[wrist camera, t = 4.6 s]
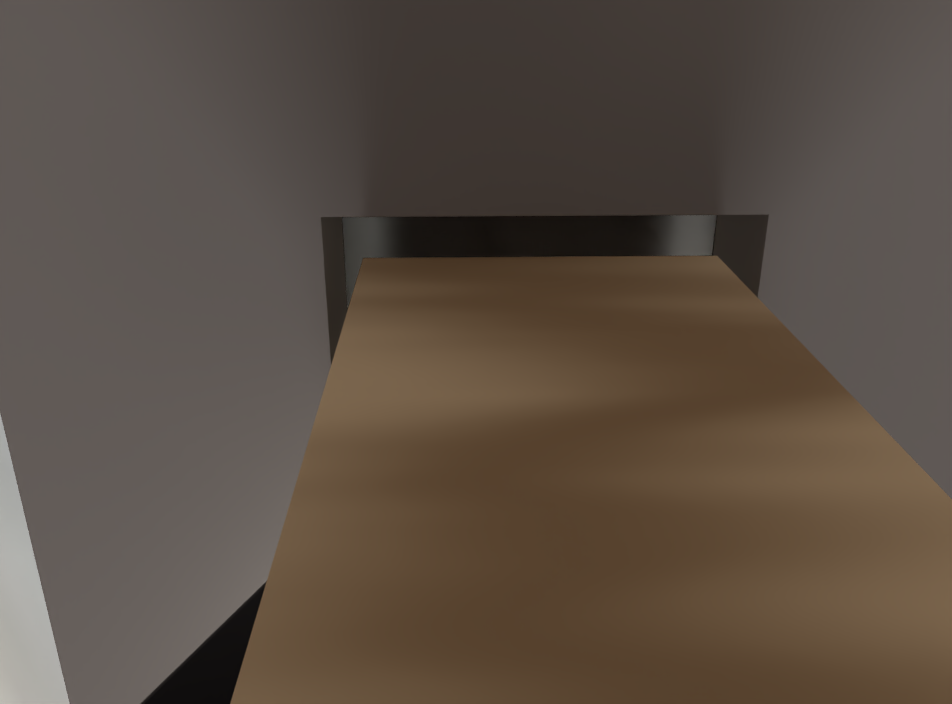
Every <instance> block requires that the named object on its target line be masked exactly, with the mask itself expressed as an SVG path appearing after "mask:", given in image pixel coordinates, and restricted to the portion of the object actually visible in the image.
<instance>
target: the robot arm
mask: <svg viewBox="0 0 952 704" xmlns="http://www.w3.org/2000/svg"><path fill="white" fill-rule="evenodd" d="M266 582H267V581H266ZM266 582H265V583H264V584H263V585H262V586H261V587H260V588H259V589H258V590H257V591H256V592H255V593H254V594H253V595H252V596H251V597H250V598H248V599H247V600H246V601H245V602H244V603H243V604H242V605H241V606H240V607H239V608H238V609H237V610H236V611H235V612H234V613H233V614H232V615H231V616H230V617H229V618H228V619H227V620H226V621H225V622H224V623H223V624H222V625H221V626H220V627H219V628H218V629H217V630H215V631H214V632H213V633H212V634H211V635H210V636H209V637H208V638H207V639H206V640H205V641H204V642H203V643H202V644H201V645H200V646H199V647H198V648H197V649H196V650H195V651H194V652H193V653H192V654H191V655H190V656H189V657H188V658H187V659H186V660H185V661H184V662H182V663H181V664H180V665H179V666H178V667H177V668H176V669H175V670H174V671H173V672H172V673H171V674H170V675H169V676H168V677H167V678H166V679H165V680H164V681H163V682H162V683H161V684H160V685H159V686H158V687H157V688H156V689H155V690H154V691H153V692H152V693H151V694H149V695H148V696H147V697H146V698H145V699H144V700H143V701H142V702H141V703H140V704H230V703H231V700H232V696H233V693H234V689H235V686H236V683H237V679H238V676H239V673H240V669H241V666H242V663H243V659H244V656H245V653H246V649H247V646H248V643H249V639H250V636H251V632H252V629H253V626H254V622H255V619H256V616H257V612H258V609H259V606H260V602H261V599H262V596H263V592H264V589H265V586H266Z"/></svg>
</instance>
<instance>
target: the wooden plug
mask: <svg viewBox="0 0 952 704" xmlns="http://www.w3.org/2000/svg"><path fill="white" fill-rule="evenodd" d="M230 704H952V499H951V498H950V497H949V496H948V495H947V494H946V493H945V492H944V491H943V490H942V489H941V488H940V487H939V486H938V484H937V483H936V482H935V481H934V480H933V479H932V478H931V477H930V476H929V475H928V474H927V473H926V472H925V471H924V470H923V469H922V468H921V467H920V466H919V465H918V464H917V463H916V462H915V461H914V460H913V459H912V457H911V456H910V455H909V454H908V453H907V452H906V451H905V450H904V449H903V448H902V447H901V446H900V445H899V444H898V443H897V442H896V441H895V440H894V439H893V438H892V437H891V436H890V435H889V434H888V433H887V432H886V430H885V429H884V428H883V427H882V426H881V425H880V424H879V423H878V422H877V421H876V420H875V419H874V418H873V417H872V416H871V415H870V414H869V413H868V412H867V411H866V410H865V409H864V408H863V407H862V406H861V405H860V403H859V402H858V401H857V400H856V399H855V398H854V397H853V396H852V395H851V394H850V393H849V392H848V391H847V390H846V389H845V388H844V387H843V386H842V385H841V384H840V383H839V382H838V381H837V380H836V379H835V378H834V376H833V375H832V374H831V373H830V372H829V371H828V370H827V369H826V368H825V367H824V366H823V365H822V364H821V363H820V362H819V361H818V360H817V359H816V358H815V357H814V356H813V355H812V354H811V353H810V352H809V351H808V349H807V348H806V347H805V346H804V345H803V344H802V343H801V342H800V341H799V340H798V339H797V338H796V337H795V336H794V335H793V334H792V333H791V332H790V331H789V330H788V329H787V328H786V327H785V326H784V325H783V324H782V322H781V321H780V320H779V319H778V318H777V317H776V316H775V315H774V314H773V313H772V312H771V311H770V310H769V309H768V308H767V307H766V306H765V305H764V304H763V303H762V302H761V301H760V300H759V299H758V298H757V297H756V295H755V294H754V293H753V292H752V291H751V290H750V289H749V288H748V287H747V286H746V285H745V284H744V283H743V282H742V281H741V280H740V279H739V278H738V277H737V276H736V275H735V274H734V273H733V272H732V271H731V270H730V268H729V267H728V266H727V265H726V264H725V263H724V262H723V261H722V260H721V259H720V258H719V257H718V256H581V257H424V258H363V260H362V264H361V267H360V270H359V274H358V277H357V280H356V284H355V287H354V291H353V294H352V297H351V301H350V304H349V307H348V311H347V314H346V317H345V321H344V324H343V327H342V331H341V334H340V337H339V341H338V344H337V347H336V351H335V354H334V358H333V361H332V364H331V368H330V371H329V374H328V378H327V381H326V384H325V388H324V391H323V394H322V398H321V401H320V404H319V408H318V411H317V415H316V418H315V421H314V425H313V428H312V431H311V435H310V438H309V441H308V445H307V448H306V451H305V455H304V458H303V461H302V465H301V468H300V472H299V475H298V478H297V482H296V485H295V488H294V492H293V495H292V498H291V502H290V505H289V508H288V512H287V515H286V518H285V522H284V525H283V529H282V532H281V535H280V539H279V542H278V545H277V549H276V552H275V555H274V559H273V562H272V565H271V569H270V572H269V575H268V579H267V582H266V586H265V589H264V592H263V596H262V599H261V602H260V606H259V609H258V612H257V616H256V619H255V622H254V626H253V629H252V632H251V636H250V639H249V643H248V646H247V649H246V653H245V656H244V659H243V663H242V666H241V669H240V673H239V676H238V679H237V683H236V686H235V689H234V693H233V696H232V700H231V703H230Z"/></svg>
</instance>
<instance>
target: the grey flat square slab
mask: <svg viewBox="0 0 952 704" xmlns="http://www.w3.org/2000/svg"><path fill="white" fill-rule="evenodd" d="M597 215H717V224H716V232H715V241H714V250H713V256H718V257H719V258H720V259H721V260H722V261H723V262H724V263H725V264H726V265H727V266H728V267H729V268H730V270H731V271H732V272H733V273H734V274H735V275H736V276H737V277H738V278H739V279H740V280H741V281H742V282H743V283H744V284H745V285H746V286H747V287H748V288H749V289H750V290H751V291H752V292H753V293H754V294H755V295H756V297H757V298H758V299H759V300H760V301H761V302H762V303H763V304H764V305H765V306H766V307H767V308H768V309H769V310H770V311H771V312H772V313H773V314H774V315H775V316H776V317H777V318H778V319H779V320H780V321H781V322H782V324H783V325H784V326H785V327H786V328H787V329H788V330H789V331H790V332H791V333H792V334H793V335H794V336H795V337H796V338H797V339H798V340H799V341H800V342H801V343H802V344H803V345H804V346H805V347H806V348H807V349H808V351H809V352H810V353H811V354H812V355H813V356H814V357H815V358H816V359H817V360H818V361H819V362H820V363H821V364H822V365H823V366H824V367H825V368H826V369H827V370H828V371H829V372H830V373H831V374H832V375H833V376H834V378H835V379H836V380H837V381H838V382H839V383H840V384H841V385H842V386H843V387H844V388H845V389H846V390H847V391H848V392H849V393H850V394H851V395H852V396H853V397H854V398H855V399H856V400H857V401H858V402H859V403H860V405H861V406H862V407H863V408H864V409H865V410H866V411H867V412H868V413H869V414H870V415H871V416H872V417H873V418H874V419H875V420H876V421H877V422H878V423H879V424H880V425H881V426H882V427H883V428H884V429H885V430H886V432H887V433H888V434H889V435H890V436H891V437H892V438H893V439H894V440H895V441H896V442H897V443H898V444H899V445H900V446H901V447H902V448H903V449H904V450H905V451H906V452H907V453H908V454H909V455H910V456H911V457H912V459H913V460H914V461H915V462H916V463H917V464H918V465H919V466H920V467H921V468H922V469H923V470H924V471H925V472H926V473H927V474H928V475H929V476H930V477H931V478H932V479H933V480H934V481H935V482H936V483H937V484H938V486H939V487H940V488H941V489H942V490H943V491H944V492H945V493H946V494H947V495H948V496H949V497H950V498H951V499H952V0H0V413H1V417H2V421H3V426H4V430H5V434H6V438H7V442H8V447H9V451H10V455H11V459H12V463H13V468H14V472H15V476H16V480H17V484H18V488H19V493H20V497H21V501H22V505H23V509H24V514H25V518H26V522H27V526H28V530H29V535H30V539H31V543H32V547H33V551H34V556H35V560H36V564H37V568H38V572H39V576H40V581H41V585H42V589H43V593H44V597H45V602H46V606H47V610H48V614H49V618H50V623H51V627H52V631H53V635H54V639H55V644H56V648H57V652H58V656H59V660H60V664H61V669H62V673H63V677H64V681H65V685H66V690H67V694H68V698H69V702H70V704H140V703H141V702H142V701H143V700H144V699H145V698H146V697H147V696H148V695H149V694H151V693H152V692H153V691H154V690H155V689H156V688H157V687H158V686H159V685H160V684H161V683H162V682H163V681H164V680H165V679H166V678H167V677H168V676H169V675H170V674H171V673H172V672H173V671H174V670H175V669H176V668H177V667H178V666H179V665H180V664H181V663H182V662H184V661H185V660H186V659H187V658H188V657H189V656H190V655H191V654H192V653H193V652H194V651H195V650H196V649H197V648H198V647H199V646H200V645H201V644H202V643H203V642H204V641H205V640H206V639H207V638H208V637H209V636H210V635H211V634H212V633H213V632H214V631H215V630H217V629H218V628H219V627H220V626H221V625H222V624H223V623H224V622H225V621H226V620H227V619H228V618H229V617H230V616H231V615H232V614H233V613H234V612H235V611H236V610H237V609H238V608H239V607H240V606H241V605H242V604H243V603H244V602H245V601H246V600H247V599H248V598H250V597H251V596H252V595H253V594H254V593H255V592H256V591H257V590H258V589H259V588H260V587H261V586H262V585H263V584H264V583H265V582H266V581H267V579H268V575H269V572H270V569H271V565H272V562H273V559H274V555H275V552H276V549H277V545H278V542H279V539H280V535H281V532H282V529H283V525H284V522H285V518H286V515H287V512H288V508H289V505H290V502H291V498H292V495H293V492H294V488H295V485H296V482H297V478H298V475H299V472H300V468H301V465H302V461H303V458H304V455H305V451H306V448H307V445H308V441H309V438H310V435H311V431H312V428H313V425H314V421H315V418H316V415H317V411H318V408H319V404H320V401H321V398H322V394H323V391H324V388H325V384H326V381H327V378H328V374H329V371H330V368H331V364H332V361H333V358H334V354H335V351H336V347H337V344H338V341H339V337H340V334H341V331H342V327H343V324H344V321H345V317H346V314H347V295H346V278H345V261H344V245H343V228H342V217H425V216H597Z"/></svg>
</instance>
